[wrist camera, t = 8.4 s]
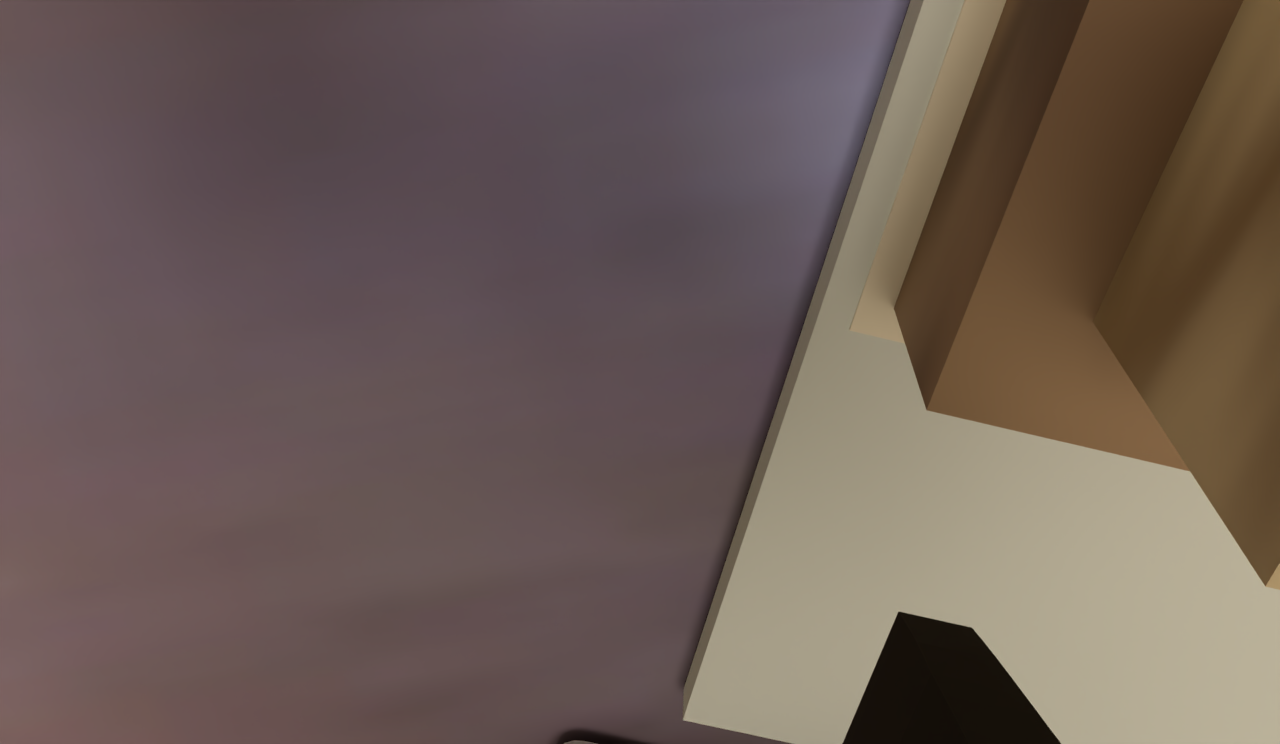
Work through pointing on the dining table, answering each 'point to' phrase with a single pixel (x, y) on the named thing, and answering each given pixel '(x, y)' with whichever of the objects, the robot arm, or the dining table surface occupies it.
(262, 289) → the dining table surface
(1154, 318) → the light wooden cube
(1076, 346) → the walnut slab
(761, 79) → the dining table surface
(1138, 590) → the plain cream board
